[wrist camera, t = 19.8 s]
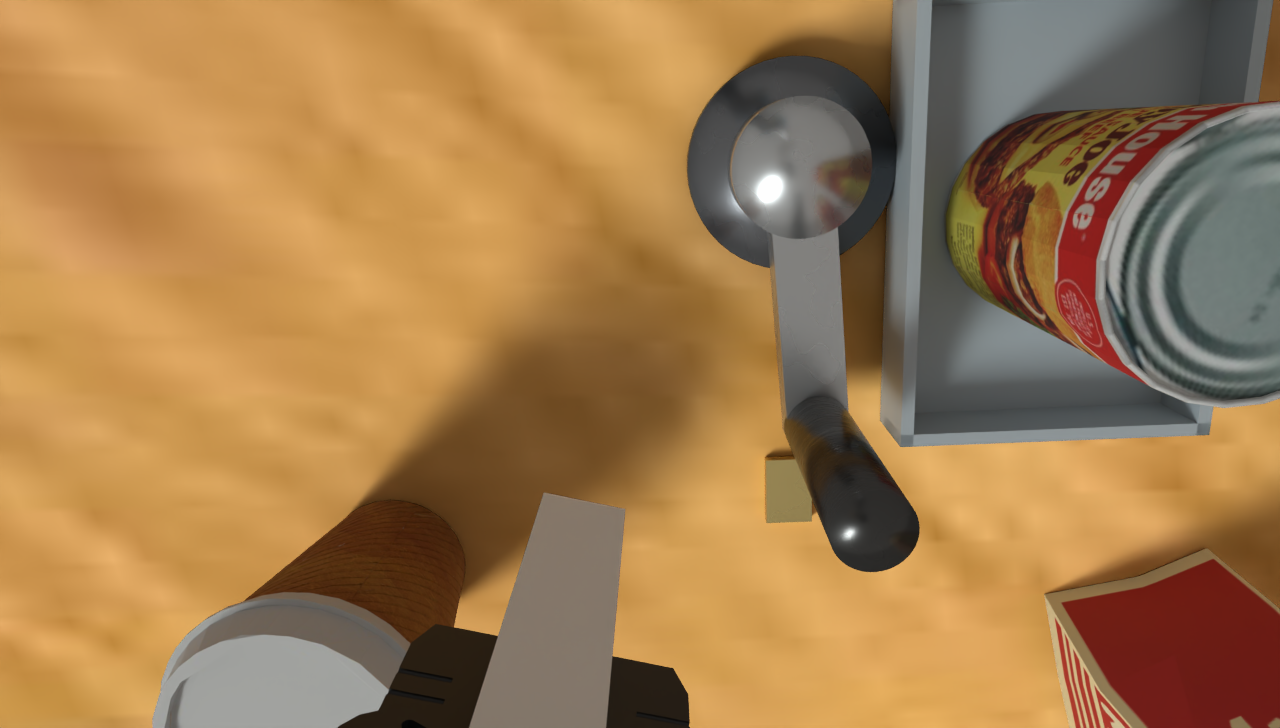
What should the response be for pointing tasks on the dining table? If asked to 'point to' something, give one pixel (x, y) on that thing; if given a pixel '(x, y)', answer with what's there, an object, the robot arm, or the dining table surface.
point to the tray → (951, 131)
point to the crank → (819, 315)
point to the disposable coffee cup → (320, 628)
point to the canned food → (1135, 240)
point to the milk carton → (1168, 650)
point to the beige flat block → (786, 491)
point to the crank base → (747, 98)
